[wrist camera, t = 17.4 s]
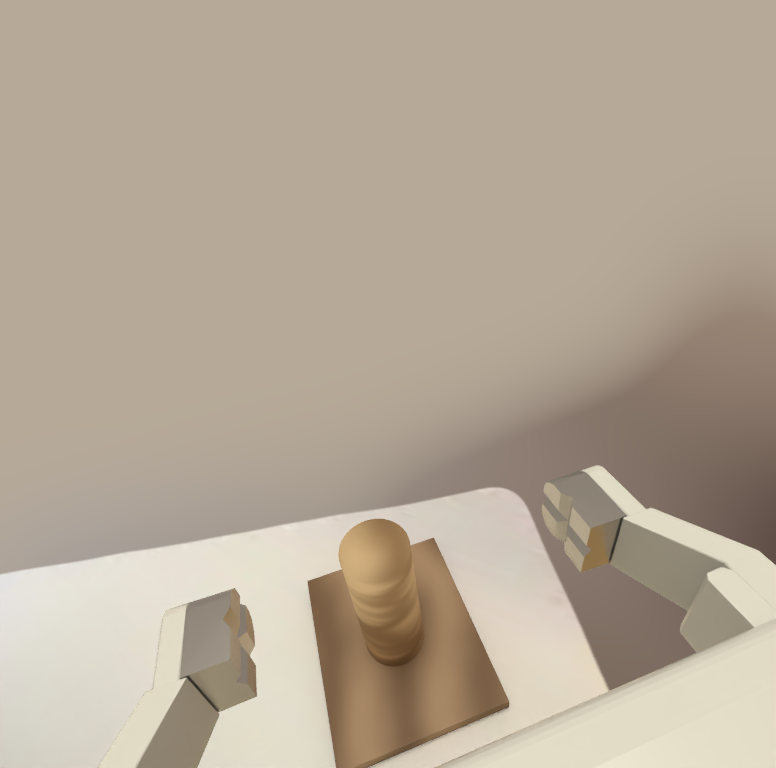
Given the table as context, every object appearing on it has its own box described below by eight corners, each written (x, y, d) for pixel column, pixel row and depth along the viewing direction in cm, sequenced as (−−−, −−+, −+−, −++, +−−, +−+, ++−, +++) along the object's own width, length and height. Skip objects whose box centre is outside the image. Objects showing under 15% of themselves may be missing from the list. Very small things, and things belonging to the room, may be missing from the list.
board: (340, 778, 31) (337, 774, 30) (309, 587, 43) (307, 581, 42) (508, 706, 33) (508, 701, 32) (434, 543, 45) (433, 537, 44)
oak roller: (373, 675, 35) (346, 593, 28) (359, 615, 39) (332, 531, 32) (432, 653, 35) (420, 568, 29) (412, 596, 40) (398, 510, 33)
